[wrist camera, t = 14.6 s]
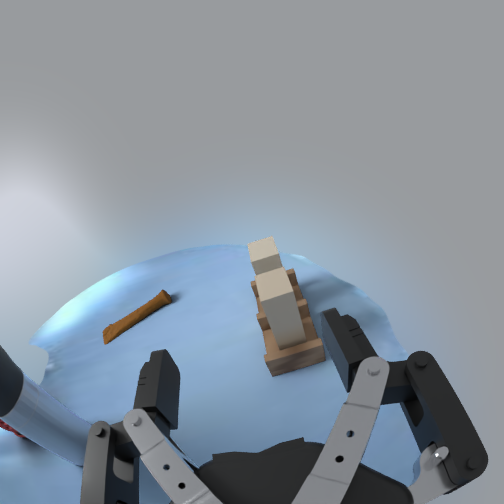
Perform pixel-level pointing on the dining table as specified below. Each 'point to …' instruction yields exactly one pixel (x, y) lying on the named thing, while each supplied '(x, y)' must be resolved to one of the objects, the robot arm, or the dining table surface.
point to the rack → (298, 354)
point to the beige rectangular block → (280, 308)
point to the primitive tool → (135, 316)
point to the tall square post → (264, 255)
